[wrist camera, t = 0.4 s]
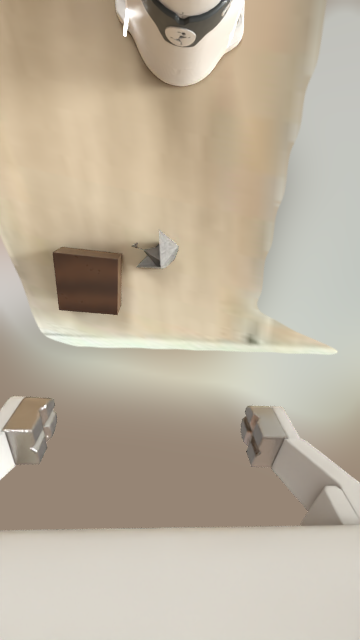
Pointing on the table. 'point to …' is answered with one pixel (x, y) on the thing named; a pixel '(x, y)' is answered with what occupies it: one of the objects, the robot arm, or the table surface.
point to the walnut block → (88, 280)
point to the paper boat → (159, 253)
